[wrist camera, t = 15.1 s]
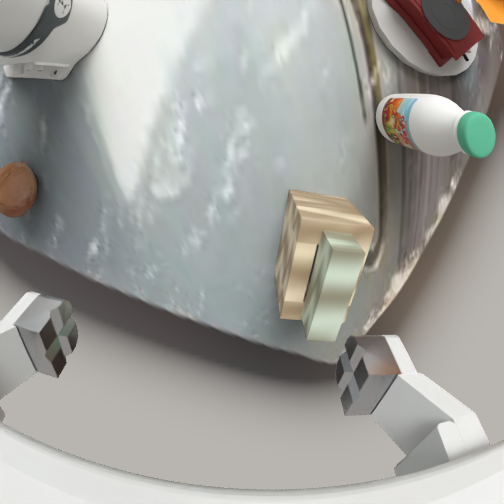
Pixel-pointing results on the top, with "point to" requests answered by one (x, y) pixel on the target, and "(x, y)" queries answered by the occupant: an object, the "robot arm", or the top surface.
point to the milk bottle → (434, 125)
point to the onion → (17, 189)
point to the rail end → (331, 284)
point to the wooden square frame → (312, 243)
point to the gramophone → (432, 32)
